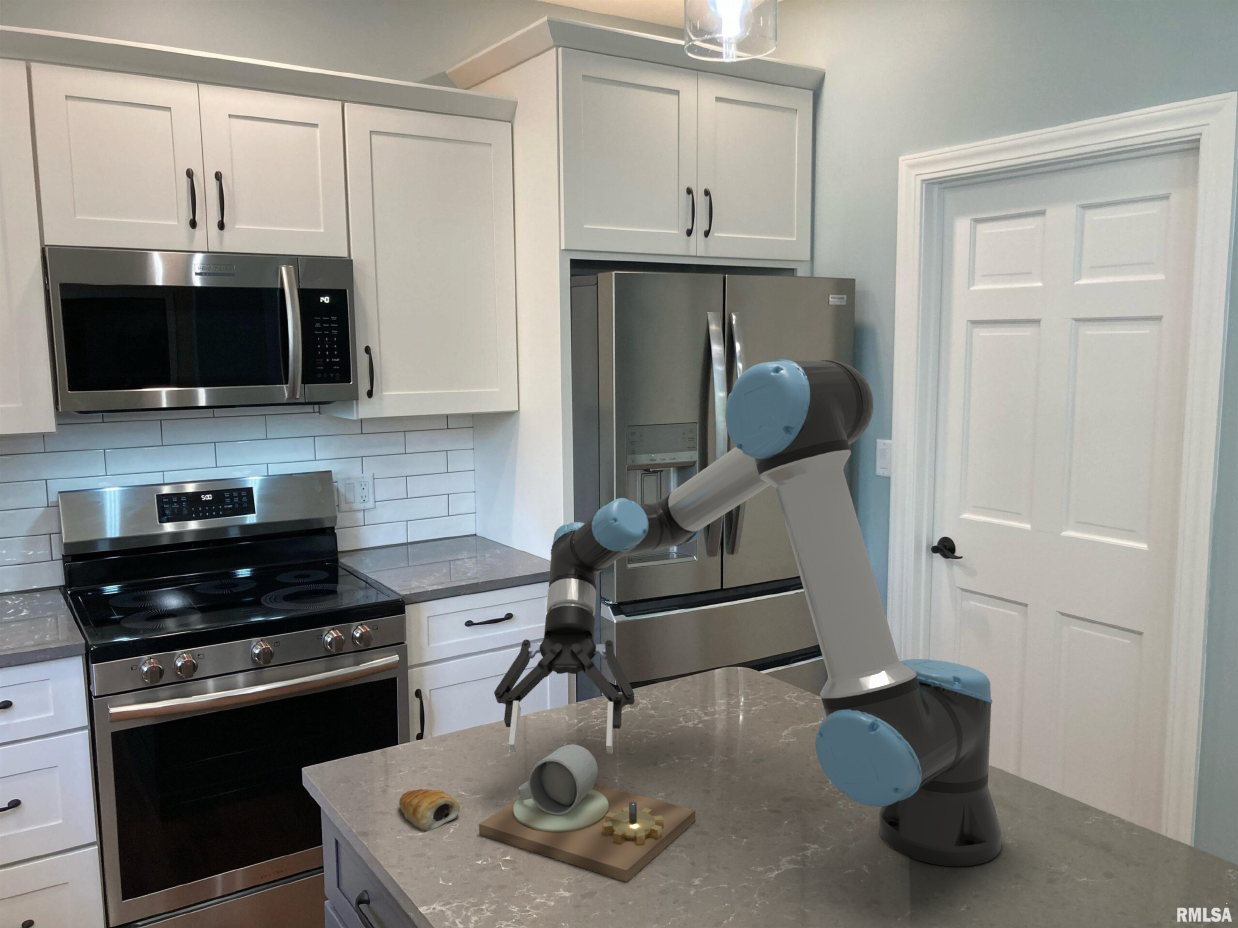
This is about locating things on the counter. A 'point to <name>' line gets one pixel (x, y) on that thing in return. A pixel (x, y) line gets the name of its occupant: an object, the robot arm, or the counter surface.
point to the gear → (633, 825)
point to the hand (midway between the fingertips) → (560, 749)
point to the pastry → (428, 808)
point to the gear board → (587, 831)
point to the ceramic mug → (561, 779)
